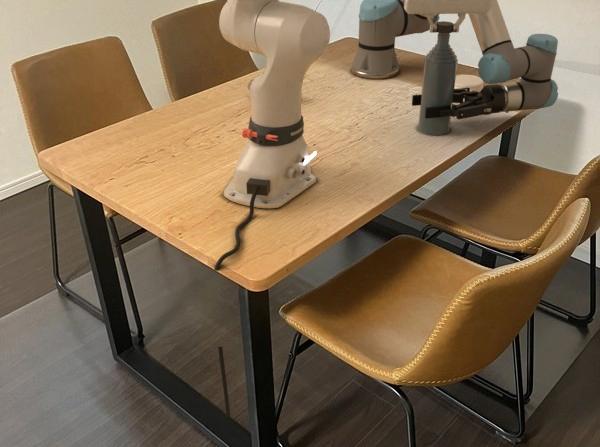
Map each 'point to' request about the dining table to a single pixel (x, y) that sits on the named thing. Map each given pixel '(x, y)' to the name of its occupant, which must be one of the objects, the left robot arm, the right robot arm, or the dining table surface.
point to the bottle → (438, 85)
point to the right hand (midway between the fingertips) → (419, 106)
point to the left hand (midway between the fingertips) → (443, 32)
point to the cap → (444, 27)
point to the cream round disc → (469, 82)
